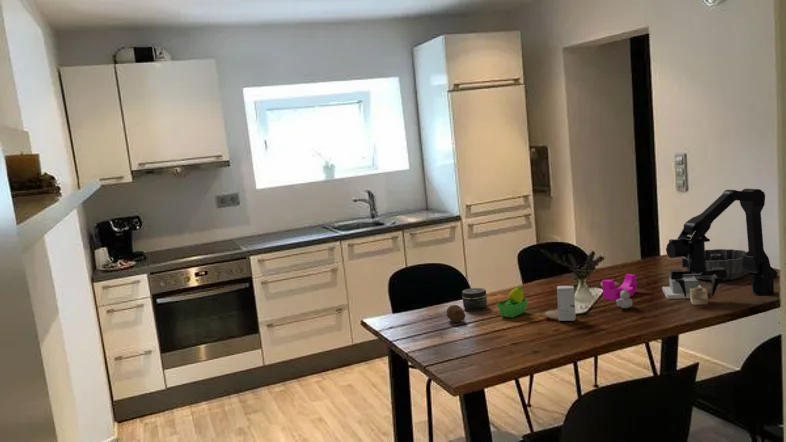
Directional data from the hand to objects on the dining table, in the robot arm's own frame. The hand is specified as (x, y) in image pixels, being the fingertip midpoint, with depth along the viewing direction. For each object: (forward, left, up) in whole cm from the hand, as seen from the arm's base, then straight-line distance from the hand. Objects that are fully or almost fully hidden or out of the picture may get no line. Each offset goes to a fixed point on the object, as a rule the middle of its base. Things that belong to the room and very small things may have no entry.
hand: (698, 296), depth 231 cm
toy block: (+26, -15, -3) cm, 30 cm away
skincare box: (+47, +17, -3) cm, 50 cm away
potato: (+89, +15, -3) cm, 90 cm away
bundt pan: (-14, -41, -3) cm, 43 cm away
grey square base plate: (+3, -14, -2) cm, 15 cm away
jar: (+84, -3, -3) cm, 84 cm away
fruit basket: (+67, +8, -3) cm, 68 cm away
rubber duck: (+26, +4, -3) cm, 27 cm away
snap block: (0, 0, -3) cm, 3 cm away
